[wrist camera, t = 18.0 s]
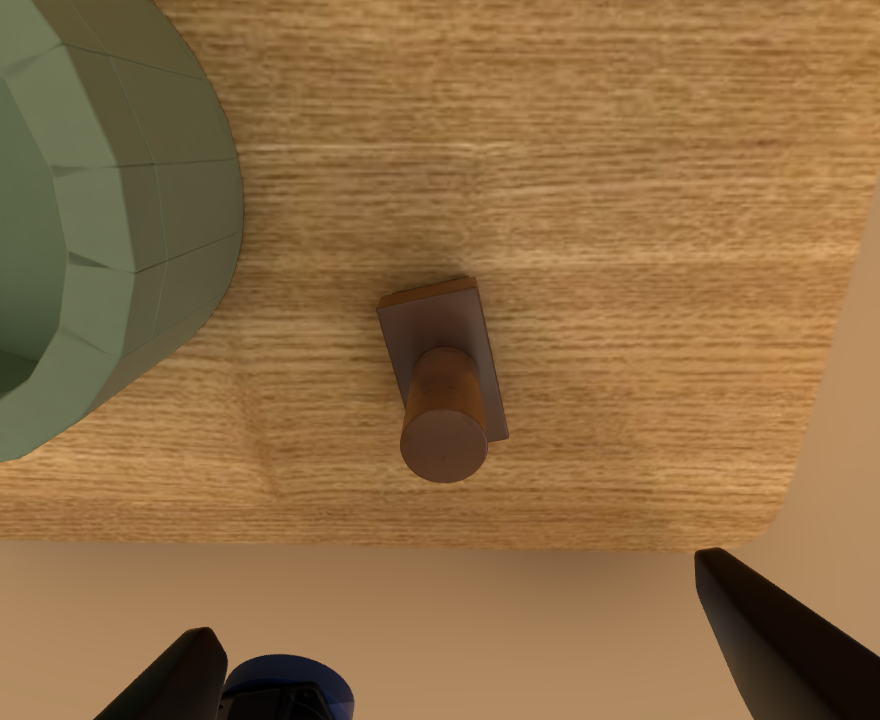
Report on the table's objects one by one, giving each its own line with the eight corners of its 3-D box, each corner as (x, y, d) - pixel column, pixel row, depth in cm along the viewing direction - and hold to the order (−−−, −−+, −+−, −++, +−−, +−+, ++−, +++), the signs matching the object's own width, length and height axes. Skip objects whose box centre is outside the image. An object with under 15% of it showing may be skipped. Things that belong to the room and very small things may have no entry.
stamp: (503, 407, 21) (526, 522, 15) (422, 422, 21) (409, 541, 15) (474, 268, 19) (485, 333, 12) (384, 289, 19) (350, 361, 13)
